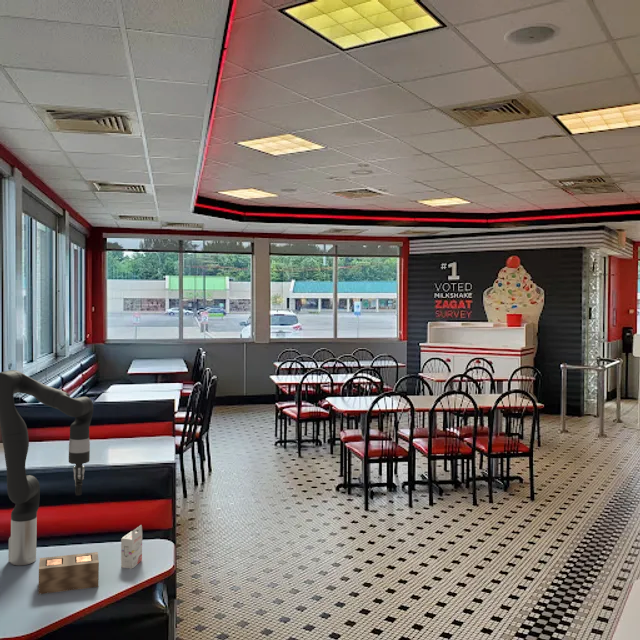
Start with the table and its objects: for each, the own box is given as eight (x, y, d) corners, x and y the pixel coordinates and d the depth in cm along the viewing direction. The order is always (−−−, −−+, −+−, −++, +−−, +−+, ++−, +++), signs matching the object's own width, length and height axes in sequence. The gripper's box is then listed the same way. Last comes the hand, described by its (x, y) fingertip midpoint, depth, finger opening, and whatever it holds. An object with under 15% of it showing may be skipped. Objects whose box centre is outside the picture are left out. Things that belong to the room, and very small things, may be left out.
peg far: (76, 585, 239) (76, 562, 239) (76, 580, 244) (76, 556, 244) (90, 584, 241) (91, 560, 241) (90, 578, 246) (90, 555, 246)
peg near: (46, 589, 236) (46, 565, 235) (46, 583, 240) (47, 560, 240) (61, 587, 238) (61, 563, 237) (61, 581, 242) (61, 558, 242)
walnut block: (38, 594, 233) (38, 569, 232) (39, 582, 242) (39, 558, 242) (98, 586, 240) (98, 562, 239) (97, 575, 249) (97, 552, 249)
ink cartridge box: (130, 559, 265) (131, 523, 264) (142, 560, 264) (143, 524, 263) (120, 567, 257) (120, 530, 256) (131, 569, 256) (132, 531, 255)
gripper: (90, 453, 247) (89, 499, 248) (89, 445, 260) (88, 488, 260) (68, 454, 245) (68, 500, 245) (68, 446, 257) (67, 490, 258)
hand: (78, 494), depth 253 cm, fingers closed
